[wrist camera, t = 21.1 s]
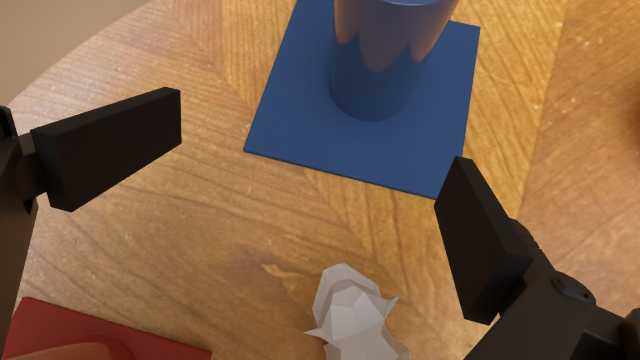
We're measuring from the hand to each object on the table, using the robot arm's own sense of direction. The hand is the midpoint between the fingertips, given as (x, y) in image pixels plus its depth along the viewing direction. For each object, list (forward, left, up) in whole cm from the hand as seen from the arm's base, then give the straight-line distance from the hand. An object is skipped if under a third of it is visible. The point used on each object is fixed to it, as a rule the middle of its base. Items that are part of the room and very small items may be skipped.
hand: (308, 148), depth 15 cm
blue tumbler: (-10, +2, -8) cm, 13 cm away
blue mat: (-10, +2, -9) cm, 13 cm away
